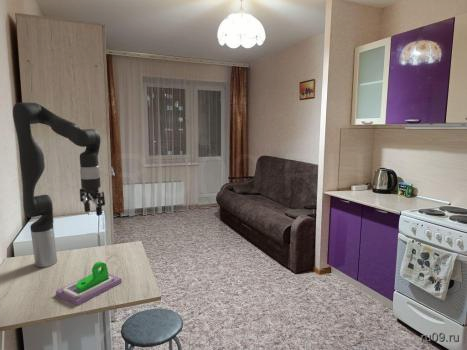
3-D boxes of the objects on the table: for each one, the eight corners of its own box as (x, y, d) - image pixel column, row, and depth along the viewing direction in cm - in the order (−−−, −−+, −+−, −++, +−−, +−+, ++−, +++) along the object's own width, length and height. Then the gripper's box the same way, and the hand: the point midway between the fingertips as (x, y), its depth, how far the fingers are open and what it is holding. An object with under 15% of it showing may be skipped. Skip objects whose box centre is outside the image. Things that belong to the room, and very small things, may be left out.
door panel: (56, 294, 128) (55, 287, 127) (100, 274, 144) (100, 267, 144) (77, 305, 120) (76, 298, 120) (121, 282, 137) (121, 275, 136)
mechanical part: (99, 273, 138) (96, 257, 136) (108, 277, 135) (105, 260, 133) (73, 289, 128) (69, 271, 126) (82, 293, 125) (78, 275, 123)
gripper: (72, 176, 138) (75, 212, 141) (92, 180, 130) (95, 218, 133) (88, 173, 144) (91, 208, 147) (108, 177, 136) (111, 214, 140)
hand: (93, 213), depth 140 cm, fingers open, 8 cm apart
